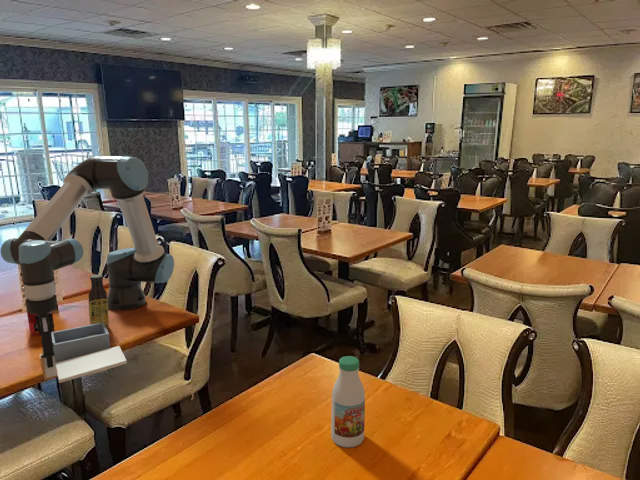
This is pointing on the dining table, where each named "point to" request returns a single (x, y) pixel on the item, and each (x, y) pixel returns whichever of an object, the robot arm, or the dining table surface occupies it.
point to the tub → (80, 341)
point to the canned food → (33, 325)
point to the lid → (87, 364)
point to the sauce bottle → (98, 301)
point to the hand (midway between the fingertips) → (51, 372)
